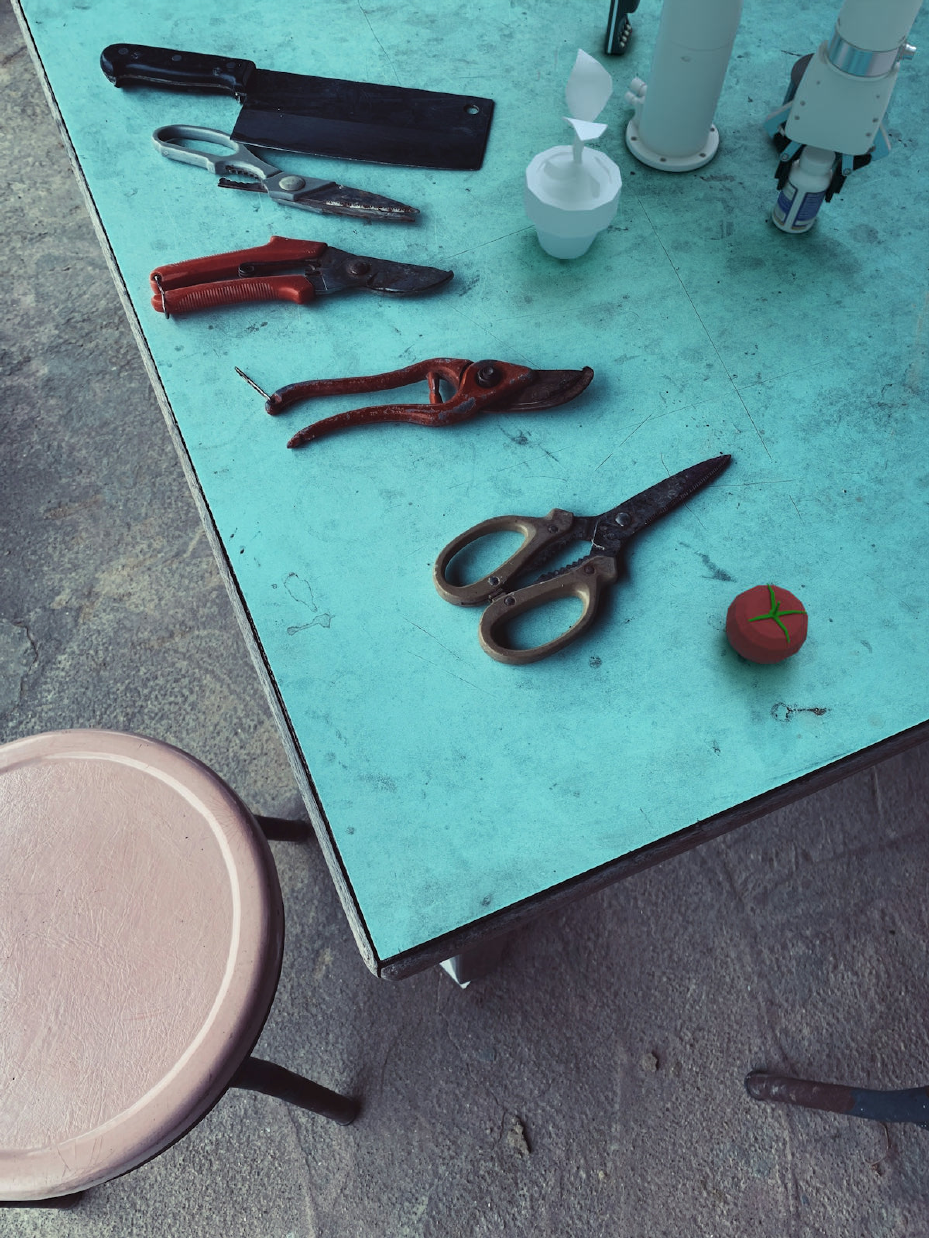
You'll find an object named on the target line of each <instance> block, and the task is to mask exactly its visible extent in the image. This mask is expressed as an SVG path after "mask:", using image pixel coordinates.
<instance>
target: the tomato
mask: <svg viewBox="0 0 929 1238" xmlns="http://www.w3.org/2000/svg"><path fill="white" fill-rule="evenodd" d="M808 628H809V615H808V612H807V611H806V609H805V606H804V603H803V602H802V601H801V600H800V599H799V598H798V597H797V596H796V595H795V594H794V593H793V592H791V591H790V590H788V589H785V588H783V587H780V586H778V585H775V584H769V582H766V584H757V585H755V586H753V587H750V588H749V589H747V590H744V591H743V592H741V593H739V594H737V595H736V596H735V597H734V599H733V600H732V602H731V603H730V604H729V605H728V607H727V611H726V617H725V628H724V629H725V630H724V631H725V634H726V636H727V640H728V642H729V644H730V647H732V649H734V650H735V651H736V652H737V653H738V654H739V655H740V656H741V657H742V658H744V659H746V660H749V661H750V662H754V663H756V664H759V665H772V664H773V665H774V664H778V663H780V662H782V661H784V660H787V659H789V658H790V657H792V656H793V655H796V654H797V653H799V651H800V650H801V648H802V647H803V645H804V644H805V642H806V641H807V637H808V630H809V629H808Z"/></svg>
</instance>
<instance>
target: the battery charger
mask: <svg viewBox="0 0 929 1238" xmlns="http://www.w3.org/2000/svg"><path fill="white" fill-rule="evenodd" d="M640 3H641V0H610V4H609V9H608V10H609V11H608V17H607V25H606V32H605V38H604V45H603V51H604V52H605V53H606V54H616V55H622V54H623V53H625V52H626V51H627V47H628V45H629V42H630V40H631V37H632V34H633V27H632V26H631V23H630V19H629V15H628V14H634V13H636V11H637V10H638V8H639V5H640Z"/></svg>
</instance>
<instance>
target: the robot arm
mask: <svg viewBox="0 0 929 1238" xmlns="http://www.w3.org/2000/svg"><path fill="white" fill-rule="evenodd" d="M662 2H663V3H662V7H661V12H660V17H659V23H658V28H657V34H656V39H655V44H654V48H653V55H652V58H651V63H650V69H649V73H648V78H647V83H646V82H645V81H643V80H642V79H640V78H639V77H637V76H636V77H634V78H633V79H632V80H631V81H630V83H629V86H628V91H627V92H626V93H625V94H624V95H623V102H624V103H626V104H627V105H628V106H630V107H631V108H632V107H633V109H634V115H633V116H632V117H631V119H629V122H628V123H627V126H626V133H625V142H626V146H627V148H628V149H629V151H630V152H631V154H632V155H633V156H634V157H635V158H636V159H637V160H639V161H640V162H641V163H643V164H645V165H647V166H649V167H652V168H654V169H657V170H661V171H664V172H673V173H675V172H676V173H678V172H687V171H693V170H695V169H698V168H701V167H703V166H705V165H707V164H708V163H709V162H710V161H711V160H713V158H714V156H715V155H716V153H717V150H718V147H719V143H720V133H719V131H718V129H717V127H716V125H715V123H714V118H715V115H716V111H717V107H718V104H719V101H720V96H721V93H722V89H723V86H724V82H725V79H726V74H727V71H728V68H729V64H730V60H731V57H732V53H733V50H734V45H735V43H736V38H737V35H738V30H739V27H740V23H741V20H742V19H741V18H742V15H743V9H744V0H663V1H662ZM923 2H924V0H843V1H842V5H841V7H840V10H839V12H838V15H837V17H836V20H835V23H834V25H833V27H832V30H831V33H830V35H829V38H828V39H826V40H823V41H822V42H820V44H819V45H818V47H817V48H816V50H815V51H814V52H813V53H814V55H813V57H812V59H811V61H810V62H809V65H808V67H807V69H806V71H805V73H804V75H803V77H802V80H801V82H800V84H799V87H798V89H797V91H796V94H795V96H794V99H793V100H792V101H790V102H789V103H787V104H786V105H784V106H782V105H781V106H780V107H779V108H778V109H777V108H776V109H775V110H773V111H772V112H770V113H769V114H768V115H766V116H765V118H764V121H763V125H762V127H763V128H764V130H765V131H766V133H767V135H768V136H769V137H770V138H771V139H772V143H773V145H774V147H775V148H776V150H777V152H778V154H779V161H778V164H777V167H776V170H775V173H774V176H773V179H775V180H778V181H777V185H776V187H775V188H776V189H775V190H776V191H778V192H781V190H782V189H783V186H784V184H785V181H786V179H787V176H788V174H789V171H790V169H791V166H792V164H793V163H794V160H793V159H794V155H795V152H796V151H797V150H798V149H799V147H800V146H801V145H802V144H807V145H811V146H815V147H819V148H823V149H827V150H832V151H836V152H840V153H843V155H842V158H841V159H840V160H839V161H838V162H837V164H836V166H835V169H834V171H833V172H832V173H833V178H832V181H831V184H830V186H829V189H828V191H827V193H826V195H825V197H824V200H823V202H825V203H827V204H831V201H832V199H833V197H834V194H837V195H839V194H840V193H841V191H842V188H843V186H844V184H845V183H846V180H847V178H848V177H850V176H851V175H852V174H853V172H855V171H857V170H860V169H863V168H864V167H867V166H868V165H870V164H871V163H872V162H876V161H878V160H879V161H880V160H881V159H884V158H886V157H888V156H890V153H891V149H892V145H891V142H890V139H889V137H888V134H887V131H886V129H885V126H884V123H883V119H884V115H885V114H886V111H887V108H888V106H889V103H890V100H891V97H892V93H893V91H894V87H895V84H896V83H897V79H898V75H899V71H900V67H901V60H902V61H905V60H909V61H912V60H913V58H914V56H915V54H916V51H917V45H913V44H911V43H910V42H908V35H909V34H910V31H911V29H912V27H913V25H914V22H915V20H916V17H917V15H918V14H919V12H920V9H921V7H922V5H923V4H924V3H923ZM786 120H787V122H786V127H785V129H784V128H783V127H781V125H780V124H781V123H783V122H785V121H786ZM872 145H873V146H872Z"/></svg>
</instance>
